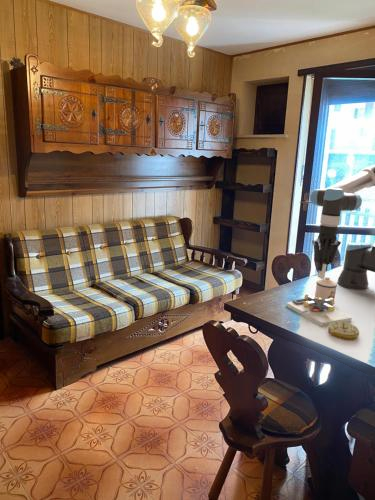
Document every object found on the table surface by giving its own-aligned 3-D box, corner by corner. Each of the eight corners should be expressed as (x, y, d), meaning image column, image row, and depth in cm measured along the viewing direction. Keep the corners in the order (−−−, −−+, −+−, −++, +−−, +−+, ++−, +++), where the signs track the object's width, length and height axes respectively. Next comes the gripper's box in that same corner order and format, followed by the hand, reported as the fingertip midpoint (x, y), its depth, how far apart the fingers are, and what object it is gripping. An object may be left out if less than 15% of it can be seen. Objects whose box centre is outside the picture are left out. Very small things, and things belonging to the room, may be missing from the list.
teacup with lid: (330, 306, 175) (334, 282, 172) (311, 301, 180) (314, 277, 177) (338, 299, 184) (342, 276, 181) (320, 294, 190) (323, 271, 187)
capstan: (318, 300, 177) (320, 290, 175) (347, 314, 162) (349, 303, 161) (290, 304, 170) (291, 293, 168) (317, 319, 155) (318, 308, 154)
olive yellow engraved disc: (327, 326, 154) (329, 318, 153) (356, 331, 151) (358, 322, 150) (328, 337, 145) (329, 328, 144) (359, 343, 141) (360, 334, 140)
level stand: (313, 301, 179) (314, 295, 179) (351, 321, 160) (352, 314, 159) (285, 306, 172) (286, 299, 172) (320, 326, 153) (322, 319, 152)
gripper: (337, 223, 169) (328, 274, 175) (310, 223, 166) (303, 275, 171) (348, 226, 162) (339, 280, 168) (321, 226, 159) (312, 280, 164)
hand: (321, 277), depth 170 cm, fingers closed
